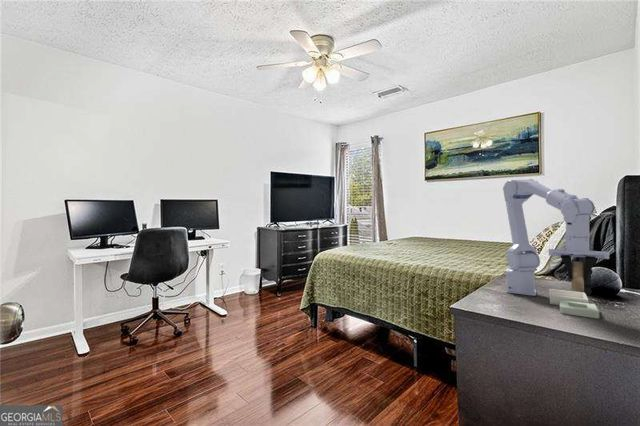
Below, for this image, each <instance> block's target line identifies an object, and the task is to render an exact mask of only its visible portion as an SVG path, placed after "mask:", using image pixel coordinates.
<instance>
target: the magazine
mask: <svg viewBox="0 0 640 426" xmlns="http://www.w3.org/2000/svg"><path fill="white" fill-rule="evenodd" d="M584 256H587V255H584ZM578 260H579V262H583V263H584V257H578ZM593 267H594V265H593V266H592V268H591V270H590V272H589V275H588V278H587V281H584V292H583V293H585V294H586V295H592V290H591V288H592V289H593V287H592V285H591V274H592V273H593Z"/></svg>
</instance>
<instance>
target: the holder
mask: <svg viewBox="0 0 640 426" xmlns="http://www.w3.org/2000/svg"><path fill="white" fill-rule="evenodd" d="M558 306H559V311H560V314H565V315H571V316H579V317H586V318H593V319H597V320H598V319H600V311H599V309H598V307H597V306H596V304H595V303H589V302H588V303H582V302H574V301H566V300H559V305H558Z"/></svg>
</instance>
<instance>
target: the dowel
mask: <svg viewBox="0 0 640 426" xmlns="http://www.w3.org/2000/svg"><path fill="white" fill-rule="evenodd" d="M571 273H572V280H571V291H574V292H584V263H583V262H580V261H571Z"/></svg>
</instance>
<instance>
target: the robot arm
mask: <svg viewBox="0 0 640 426" xmlns="http://www.w3.org/2000/svg"><path fill="white" fill-rule="evenodd" d="M502 190H503V195H504V196H503V197H504V201H505V207H506V213H507V218H508V219H507V220H508V223H509V230H510V235H511V241H512V246H511V247H509V248H508V249H507V250H506V253H507V257H506V262H507V265H508V267H509V268H506V271H505V272H506V273H505V276H506V277H505V289H506V290H505V292H506V293H508V294H509V293H510V294H514V295H515V294H517V295H523V296H532V297H533V296H534V297H536V296H537V290H536V287H535V285H536V283H535V279H536V278H535V271H537V268H538V267H540V263H541V259H540V256H539V254H538V252H537V248H535V246H533V245H531V244H530V241H529V236H528V229H527V224H526V219H525V214H524V209H523V204H524V203H526V202H527V201H528V200H529V199H531V197H532V196H534V195H536V196H538V197H540V198H543V199H545V202H546V204H547V205H549V206H551V207H553V208H555V209H557V210H559V211H560V213H561V214H562V216H563V221H564V223H565V249H563V248H560V249H559V248H557V249H556V248H555V249H554V248H552V249H551V248H549V249H548V256H550V257H551V256H557V257H560V258H561V261H562V263H563V264H564V266H565V269H566V272H567V277H568V280H570V281H572V273H571V262H572V257H574V258H579V257H584V281H587V278H588V275H589V272H590V270H591V268H592V269H593V267H594V265H595V263H596V262H597V259H604V260H609V259H610V252H609V251H600V250H599V251H597V250H590V216H592V215H593V214H594V213H595V212H594V211H595V204H594V202H593V200H590V198H588V197H586V198H583V197H582V198H579V197H578V196H577V195H575V194H570V193H568V192H565V191H566V189H564V188H557V189H550V188H549V187H546V186H545V185H543V184H541V183H539V180H535V179H533V178H530V179H513V178H511V179H508V180H507V181H506V182H504V185H503V187H502ZM584 255H587V256H584ZM592 266H593V267H592Z"/></svg>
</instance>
